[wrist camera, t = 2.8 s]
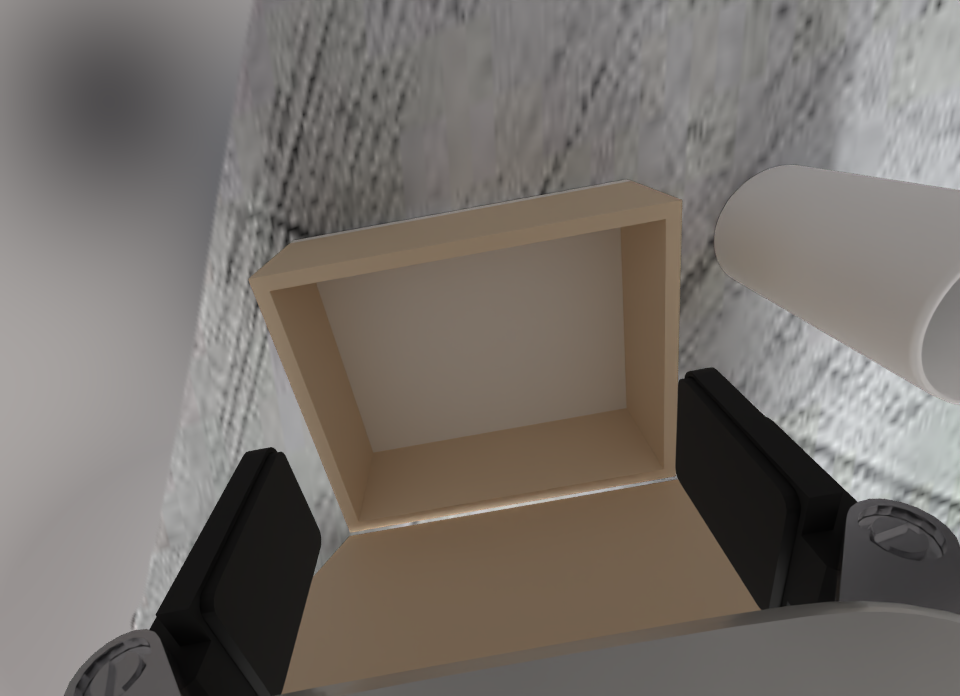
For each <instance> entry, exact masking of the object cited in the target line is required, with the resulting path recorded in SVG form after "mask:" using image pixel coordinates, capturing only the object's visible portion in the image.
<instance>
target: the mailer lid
mask: <svg viewBox="0 0 960 696" xmlns="http://www.w3.org/2000/svg"><path fill="white" fill-rule="evenodd" d="M758 610H761V609H760V608H759V607H758V605H757V604H756V602H755V601H754V599H753V597H752V596H751V594H750V593H749V591H748V590H747V588H746V586H745V585H744V583H743V582H742V580H741V578H740V577H739V575H738V574H737V572H736V571H735V569H734V567H733V566H732V564H731V563H730V561H729V560H728V558H727V556H726V555H725V553H724V552H723V550H722V548H721V547H720V545H719V544H718V542H717V541H716V539H715V537H714V536H713V534H712V533H711V531H710V529H709V528H708V526H707V525H706V523H705V522H704V520H703V518H702V517H701V515H700V514H699V512H698V510H697V509H696V507H695V506H694V504H693V503H692V501H691V499H690V498H689V496H688V495H687V493H686V491H685V490H684V488H683V487H682V485H681V484H680V482H679V480H678V479H677V480H671V481H665V482H659V483H653V484H648V485H642V486H636V487H630V488H625V489H619V490H613V491H607V492H602V493H596V494H590V495H584V496H578V497H573V498H567V499H561V500H555V501H550V502H544V503H538V504H532V505H526V506H521V507H515V508H509V509H503V510H498V511H492V512H486V513H480V514H474V515H469V516H463V517H457V518H451V519H446V520H440V521H434V522H428V523H423V524H417V525H411V526H405V527H399V528H394V529H388V530H382V531H376V532H371V533H365V534H359V535H353V536H349V537H348V538H347V539H346V541H345V542H344V543H343V544H342V545H341V546H340V547H339V549H338V550H337V551H336V552H335V553H334V554H333V555H332V556H331V558H330V559H329V560H328V561H327V562H326V563H325V564H324V565H323V567H322V568H321V569H320V570H319V571H318V572H317V573H316V574H315V576H314V577H313V578H312V582H311V586H310V589H309V593H308V597H307V601H306V604H305V608H304V612H303V616H302V620H301V623H300V627H299V631H298V635H297V638H296V642H295V646H294V650H293V653H292V657H291V661H290V665H289V669H288V672H287V676H286V680H285V684H284V687H283V691H282V693H281V694H286V693H291V692H296V691H301V690H306V689H311V688H316V687H322V686H327V685H333V684H338V683H344V682H349V681H355V680H360V679H366V678H371V677H376V676H382V675H387V674H393V673H398V672H404V671H409V670H415V669H420V668H426V667H431V666H437V665H442V664H448V663H454V662H459V661H465V660H470V659H476V658H482V657H487V656H493V655H498V654H504V653H510V652H515V651H521V650H527V649H532V648H538V647H544V646H549V645H555V644H561V643H566V642H572V641H578V640H584V639H589V638H595V637H601V636H607V635H613V634H619V633H624V632H630V631H636V630H642V629H648V628H654V627H659V626H665V625H671V624H677V623H683V622H689V621H694V620H700V619H706V618H713V617H719V616H726V615H732V614H739V613H745V612H752V611H758Z"/></svg>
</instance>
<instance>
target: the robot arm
mask: <svg viewBox="0 0 960 696" xmlns="http://www.w3.org/2000/svg"><path fill="white" fill-rule="evenodd" d="M675 469H676V474H677V477H678V480H679V482H680V484H681V485H682V487H683V488H684V490H685V491H686V493H687V495H688V496H689V498H690V499H691V501H692V503H693V504H694V506H695V507H696V509H697V510H698V512H699V514H700V515H701V517H702V518H703V520H704V522H705V523H706V525H707V526H708V528H709V529H710V531H711V533H712V534H713V536H714V537H715V539H716V541H717V542H718V544H719V545H720V547H721V548H722V550H723V552H724V553H725V555H726V556H727V558H728V560H729V561H730V563H731V564H732V566H733V567H734V569H735V571H736V572H737V574H738V575H739V577H740V578H741V580H742V582H743V583H744V585H745V586H746V588H747V590H748V591H749V593H750V594H751V596H752V597H753V599H754V601H755V602H756V604H757V605H758V607H759V608H760V609H761V610H758V611H752V612H745V613H739V614H732V615H726V616H719V617H713V618H706V619H700V620H694V621H689V622H683V623H677V624H671V625H665V626H659V627H654V628H648V629H642V630H636V631H630V632H624V633H619V634H613V635H607V636H601V637H595V638H589V639H584V640H578V641H572V642H566V643H561V644H555V645H549V646H544V647H538V648H532V649H527V650H521V651H515V652H510V653H504V654H498V655H493V656H487V657H482V658H476V659H470V660H465V661H459V662H454V663H448V664H442V665H437V666H431V667H426V668H420V669H415V670H409V671H404V672H398V673H393V674H387V675H382V676H376V677H371V678H366V679H360V680H355V681H349V682H344V683H338V684H333V685H327V686H322V687H316V688H311V689H306V690H301V691H296V692H291V693H286V694H281V693H282V691H283V687H284V684H285V680H286V676H287V672H288V669H289V665H290V661H291V657H292V653H293V650H294V646H295V642H296V638H297V635H298V631H299V627H300V623H301V620H302V616H303V612H304V608H305V604H306V601H307V597H308V593H309V589H310V586H311V582H312V578H313V574H314V570H315V567H316V563H317V559H318V555H319V552H320V548H321V534H320V531H319V528H318V526H317V524H316V522H315V519H314V517H313V515H312V513H311V511H310V508H309V506H308V504H307V502H306V500H305V497H304V495H303V493H302V491H301V489H300V487H299V484H298V482H297V480H296V478H295V476H294V473H293V471H292V469H291V467H290V465H289V462H288V460H287V458H286V456H285V454H284V453H283V452H277V451H276V450H275V449H274V448H272V447H270V448H264V449H259V450H253V451H248V452H246V453H245V454H244V456H243V457H242V459H241V461H240V463H239V465H238V466H237V468H236V470H235V472H234V474H233V475H232V477H231V479H230V481H229V483H228V484H227V486H226V488H225V490H224V492H223V494H222V495H221V497H220V499H219V501H218V503H217V504H216V506H215V508H214V510H213V512H212V513H211V515H210V517H209V519H208V521H207V523H206V524H205V526H204V528H203V530H202V532H201V533H200V535H199V537H198V539H197V541H196V542H195V544H194V546H193V548H192V550H191V552H190V553H189V555H188V557H187V559H186V561H185V562H184V564H183V566H182V568H181V570H180V571H179V573H178V575H177V577H176V579H175V581H174V582H173V584H172V586H171V588H170V590H169V591H168V593H167V595H166V597H165V599H164V600H163V602H162V604H161V606H160V608H159V610H158V611H157V613H156V616H157V617H156V619H155V621H154V622H153V624H152V626H151V628H150V630H147V629H143V630H134V631H131V632H129V633H126V634H123V635H121V636H119V637H117V638H115V639H114V640H112V641H110V642H108V643H107V644H106V645H104V646H103V647H102V648H100V649H99V650H98V651H97V652H95V653H94V654H93V655H92V656H91V657H90V658H89V659H88V660H87V661H86V662H85V663H84V664H83V665H82V666H81V668H79V670H78V671H77V673H76V674H75V675H74V677H73V678H72V680H71V681H70V683H69V685H68V687H67V689H66V692H65V694H64V696H960V545H959V542H958V540H957V537H956V536H955V535H954V534H953V533H952V532H951V530H950V529H949V528H948V527H947V526H946V525H945V524H943V523H942V522H941V521H939V520H938V519H937V518H935V517H934V516H932V515H930V514H929V513H927V512H925V511H923V510H921V509H919V508H917V507H914V506H911V505H908V504H905V503H902V502H899V501H893V500H887V499H867V500H863V501H860V502H857V501H856V500H855V499H854V498H853V497H852V496H851V495H850V494H849V493H848V492H847V491H845V490H844V489H843V488H842V487H841V486H840V485H839V484H838V483H837V482H836V481H835V480H834V479H833V478H832V477H831V476H830V475H829V474H828V473H827V472H826V471H825V470H824V469H822V468H821V467H820V466H819V465H818V464H817V463H816V462H815V461H814V460H813V459H812V458H811V457H810V456H809V455H808V454H807V453H806V452H805V451H804V450H803V449H802V448H801V447H799V446H798V445H797V444H796V443H795V442H794V441H793V440H792V439H791V438H790V437H789V436H788V435H787V434H786V433H785V432H784V431H783V430H782V429H781V428H780V427H779V426H778V425H777V424H775V423H774V422H773V421H772V420H771V419H769V418H767V417H765V416H764V415H763V414H762V413H761V412H760V411H759V410H758V409H757V408H756V407H755V406H754V405H753V404H752V403H751V402H749V401H748V400H747V399H746V398H745V397H744V396H743V395H742V394H741V393H740V392H739V391H738V390H737V389H736V388H735V387H734V386H733V385H732V384H731V383H730V382H729V381H728V380H727V379H726V378H725V377H724V376H723V375H722V374H721V373H719V372H718V371H717V370H716V369H715V368H705V369H700V370H694V371H689V372H687V373H686V375H685V379H680V380H679V382H678V401H677V431H676V460H675Z"/></svg>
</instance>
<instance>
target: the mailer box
mask: <svg viewBox="0 0 960 696" xmlns="http://www.w3.org/2000/svg"><path fill="white" fill-rule="evenodd" d="M681 231H682V200H681V199H678V198H676V197H673V196H670V195H668V194H665V193H662V192H660V191H657V190H654V189H652V188H649V187H647V186H644V185H641V184H639V183H636V182H633V181H631V180H628V179H626V180H621V181H615V182H610V183H604V184H599V185H593V186H588V187H582V188H577V189H571V190H566V191H561V192H555V193H550V194H544V195H539V196H533V197H528V198H522V199H517V200H511V201H506V202H501V203H495V204H490V205H484V206H479V207H473V208H468V209H462V210H457V211H451V212H446V213H440V214H435V215H430V216H424V217H419V218H413V219H408V220H402V221H397V222H391V223H386V224H380V225H375V226H370V227H364V228H359V229H353V230H348V231H342V232H337V233H331V234H326V235H320V236H315V237H309V238H304V239H299V240H293V241H292V242H291V243H290V244H289V245H287V246H286V247H285V248H284V249H283V250H281V251H280V252H279V253H278V254H277V255H276V256H274V257H273V258H272V259H271V260H270V261H269V262H267V263H266V264H265V265H264V266H263V267H262V268H260V269H259V270H258V271H257V272H256V273H255V274H253V275H252V276H251V277H250V278H249V279H248V280H249V283H250V285H251V288H252V290H253V292H254V295H255V297H256V300H257V302H258V305H259V307H260V310H261V312H262V315H263V317H264V320H265V322H266V325H267V327H268V330H269V332H270V335H271V337H272V340H273V342H274V345H275V347H276V350H277V352H278V355H279V357H280V359H281V362H282V364H283V367H284V369H285V372H286V374H287V377H288V379H289V382H290V384H291V387H292V389H293V392H294V394H295V397H296V399H297V402H298V404H299V407H300V409H301V412H302V414H303V417H304V419H305V422H306V424H307V427H308V429H309V431H310V434H311V436H312V439H313V441H314V444H315V446H316V449H317V451H318V454H319V456H320V459H321V461H322V464H323V466H324V469H325V471H326V474H327V476H328V479H329V481H330V484H331V486H332V489H333V491H334V494H335V496H336V498H337V501H338V503H339V506H340V508H341V511H342V513H343V516H344V518H345V521H346V523H347V526H348V528H349V531H350V533H351V532H357V531H362V530H368V529H374V528H380V527H385V526H391V525H397V524H403V523H409V522H414V521H420V520H426V519H432V518H437V517H443V516H449V515H455V514H460V513H466V512H472V511H478V510H484V509H489V508H495V507H501V506H507V505H512V504H518V503H524V502H530V501H535V500H541V499H547V498H553V497H559V496H564V495H570V494H576V493H582V492H587V491H593V490H599V489H605V488H610V487H616V486H622V485H628V484H634V483H639V482H645V481H651V480H657V479H662V478H668V477H674V476H676V469H675V460H676V431H677V396H678V355H679V313H680V272H681Z"/></svg>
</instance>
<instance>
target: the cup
mask: <svg viewBox="0 0 960 696" xmlns="http://www.w3.org/2000/svg"><path fill="white" fill-rule="evenodd" d="M714 249H715V254H716V258H717V261H718V263H719V265H720V267H721V268H722V269H723V271H724V272H725V273H726V274H727V275H728V276H729V277H731V278H732V279H734V280H735V281H737V282H739V283H740V284H742V285H744V286H746V287H747V288H749V289H751V290H752V291H754V292H756V293H758V294H759V295H761V296H763V297H764V298H766V299H768V300H770V301H771V302H773V303H775V304H776V305H778V306H780V307H782V308H783V309H785V310H787V311H788V312H790V313H792V314H793V315H795V316H797V317H799V318H800V319H802V320H804V321H805V322H807V323H809V324H811V325H812V326H814V327H816V328H817V329H819V330H821V331H823V332H824V333H826V334H828V335H829V336H831V337H833V338H835V339H836V340H838V341H840V342H841V343H843V344H845V345H847V346H848V347H850V348H852V349H853V350H855V351H857V352H858V353H860V354H862V355H864V356H865V357H867V358H869V359H870V360H872V361H874V362H876V363H877V364H879V365H881V366H882V367H884V368H886V369H888V370H889V371H891V372H893V373H894V374H896V375H898V376H900V377H901V378H903V379H905V380H907V381H908V382H910V383H912V384H913V385H915V386H917V387H919V388H920V389H922V390H924V391H925V392H927V393H929V394H931V395H933V396H935V397H937V398H939V399H942V400H944V401H946V402H949V403H952V404H957V405H960V190H955V189H949V188H942V187H936V186H929V185H923V184H917V183H910V182H904V181H897V180H891V179H884V178H878V177H871V176H865V175H858V174H852V173H845V172H839V171H832V170H826V169H819V168H813V167H806V166H800V165H782V166H777V167H773V168H770V169H767V170H765V171H763V172H761V173H759V174H757V175H755V176H754V177H752V178H751V179H749V180H748V181H746V182H745V183H744V184H743V185H742V186H741V187H740V188H739V189H738V190H737V191H736V192H735V193H734V194H733V195H732V196H731V198H730V199H729V200H728V202H727V203H726V205H725V206H724V208H723V210H722V212H721V214H720V217H719V219H718V222H717V225H716V229H715V235H714Z"/></svg>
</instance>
